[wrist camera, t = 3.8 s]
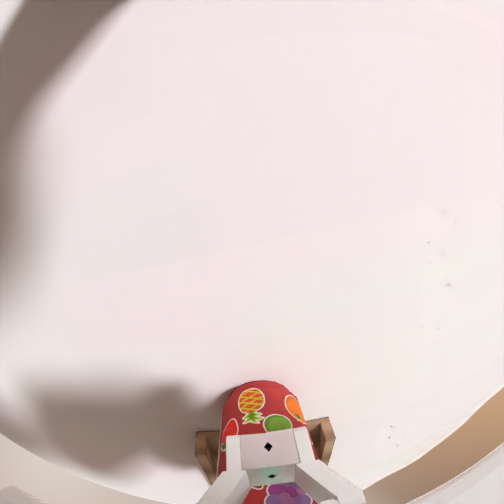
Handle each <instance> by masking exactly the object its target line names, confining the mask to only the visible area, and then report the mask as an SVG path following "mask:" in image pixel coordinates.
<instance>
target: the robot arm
mask: <svg viewBox="0 0 504 504" xmlns="http://www.w3.org/2000/svg"><path fill="white" fill-rule="evenodd" d="M287 482H295V483H296V484H297V485H298V486H299V487H300V488H301V489H302V490H303V491H305V492H306V493H307V494H308V495H309V496H310V497H311V498H312V499H313V500H314V501H316V502H317V503H318V504H367V503H366V500H365V497H364V494H363V491H362V490H361V489H360V488H358V487H357V486H355V485H354V484H352V483H351V482H350V481H348V480H347V479H345V478H344V477H342V476H341V475H340V474H338V473H337V472H335V471H334V470H333V469H331V468H330V467H329V466H327V465H326V464H324V463H323V462H322V461H321V460H315V457H314V453H313V450H312V446H311V442H310V439H309V435H308V431H307V428H306V427H305V426H304V427H298V428H293V429H292V428H291V429H285V430H279V431H273V432H266V433H258V434H248V435H233V436H227V437H226V471H222V473H221V474H220V475H219V477H218V478H217V479H216V481H215V482H214V483H213V484H212V486H211V487H210V488H209V489H208V491H207V492H206V493H205V494H204V495H203V497H202V498H201V499H200V500H199V501H198V503H197V504H242V503H243V501H244V499H245V498H246V496H247V494H248V493H249V491H250V490H251V487H255V486H263V485H271V484H279V483H287ZM0 504H47V503H46V502H43V501H41V500H39V499H37V498H35V497H33V496H31V495H29V494H28V493H26V492H24V491H22V490H20V489H19V488H17V487H14V486H9V487H6V488H4V489H2V490H0ZM405 504H504V442H503V443H502V444H501V445H499V446H498V447H497V448H496V449H494V450H493V451H492V452H491V453H489V454H488V455H487V456H485V457H484V458H483V459H481V460H480V461H478V462H477V463H476V464H474V465H473V466H471V467H470V468H468V469H467V470H465V471H464V472H462V473H461V474H459V475H458V476H456V477H454V478H453V479H451V480H450V481H448V482H446V483H444V484H443V485H441V486H439V487H437V488H435V489H434V490H432V491H430V492H428V493H426V494H424V495H422V496H420V497H418V498H416V499H414V500H412V501H410V502H408V503H405Z"/></svg>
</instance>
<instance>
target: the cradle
mask: <svg viewBox="0 0 504 504" xmlns="http://www.w3.org/2000/svg"><path fill="white" fill-rule="evenodd" d="M305 422H306V425H307V428H308V431H309V434H310V436H311V439H312V442H313V445H314V447H315V450H316V453H317V456H318V459H319V460H321V461H322V462H323V463H324V464H326V465H327V466H328V463H329V459H330V456H331V453H332V449H333V446H334V442H335V438H336V437H335V435H334V432H333V429H332V426H331V423H330V420H329V417H325V418H320V419H316V420H311V421H305ZM219 439H220V431H217V432H197V433H196V446H195V455H196V457H197V459H198V461H199V462H200V464H201V466H202V467H203V469H204V471H205V472H206V474H207V476H208V477H209V479H210V481H211V482H212V484H213V483H214V482H215V481H216V477H217V464H218V451H219Z"/></svg>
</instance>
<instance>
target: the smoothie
mask: <svg viewBox="0 0 504 504" xmlns="http://www.w3.org/2000/svg"><path fill="white" fill-rule="evenodd" d="M304 426H305V427H306V428H307V425H306V422H305V420H304V417H303V414H302V411H301V408H300V406H299V403H298V400H297V397H295V396H294V395H293V394H292V393H291V392H289V390H288V389H287V388H285V387H284V386H283V385H281V384H279V383H276V382H271V381H254V382H250V383H246V384H244V385H242V386H240V387H238V388H236V389H235V390H234V391H233V392H232V393H231V394H230V397H229V399H228V400H227V401H226V402H225V403H224V406H223V408H222V416H221V427H220V439H219V451H218V464H217V477H216V479H217V478H218V477H219V475H220V474H221V473H222V471H226V437H227V436H233V435H248V434H258V433H266V432H273V431H279V430H285V429H291V428H292V429H293V428H298V427H304ZM307 431H308V428H307ZM308 435H309V439H310V442H311V446H312V450H313V453H314V457H315V460H319V459H318V456H317V453H316V450H315V447H314V445H313V442H312V439H311V436H310V434H309V431H308ZM242 504H318V503H317V502H316V501H314V500H313V499H312V498H311V497H310V496H309V495H308V494H307V493H306V492H305V491H303V490H302V489H301V488H300V487H299V486H298V485H297V484H296V483H295V482H287V483H279V484H271V485H263V486H255V487H251V490H250V491H249V493H248V494H247V496H246V498H245V499H244V501H243V503H242Z"/></svg>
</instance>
